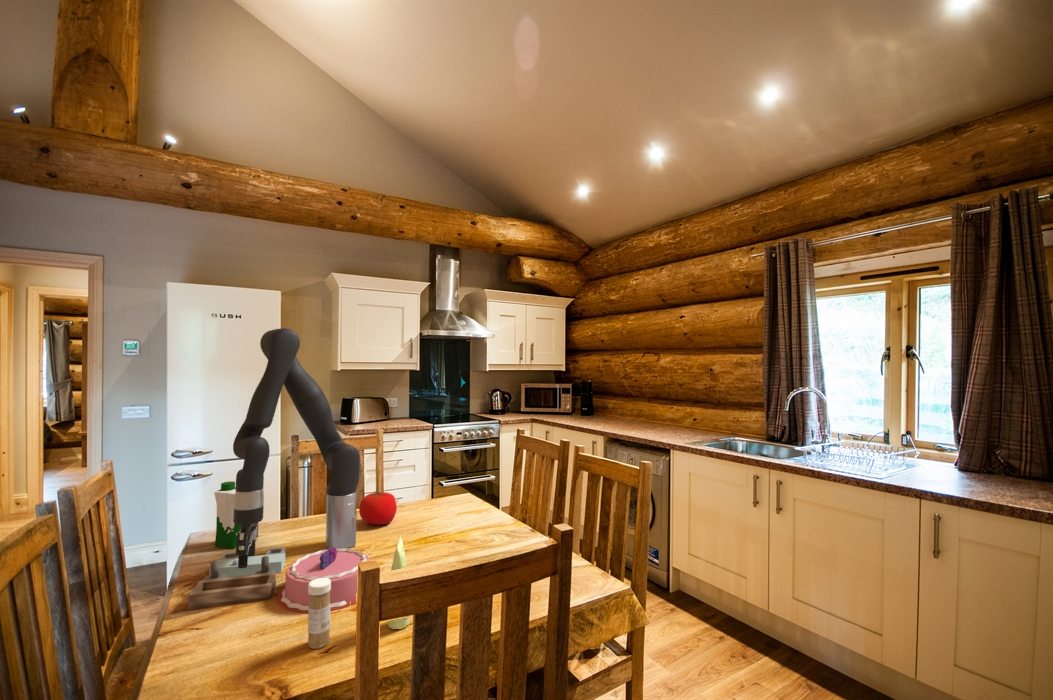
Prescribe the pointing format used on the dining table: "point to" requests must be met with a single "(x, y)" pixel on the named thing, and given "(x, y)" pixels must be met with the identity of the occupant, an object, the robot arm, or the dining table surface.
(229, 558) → the door
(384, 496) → the tomato
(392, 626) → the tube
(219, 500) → the milk carton
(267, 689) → the dining table surface
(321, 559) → the cake
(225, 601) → the carcass
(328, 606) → the sprinkles bottle
